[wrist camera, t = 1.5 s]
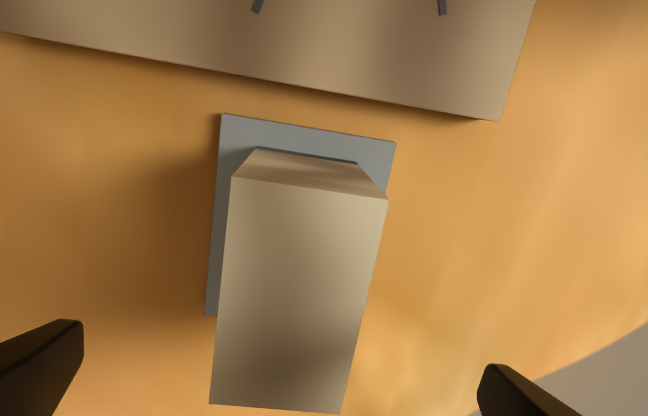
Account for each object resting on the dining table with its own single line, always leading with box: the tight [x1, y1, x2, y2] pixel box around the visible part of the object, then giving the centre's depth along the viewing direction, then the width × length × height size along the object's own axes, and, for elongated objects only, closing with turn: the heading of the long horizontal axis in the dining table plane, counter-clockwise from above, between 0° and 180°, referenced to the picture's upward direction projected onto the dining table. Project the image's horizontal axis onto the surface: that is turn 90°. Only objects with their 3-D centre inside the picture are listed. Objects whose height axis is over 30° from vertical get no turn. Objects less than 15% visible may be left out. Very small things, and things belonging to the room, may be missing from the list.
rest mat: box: [204, 113, 396, 316], centre depth 16 cm, size 7×9×1 cm
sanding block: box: [209, 146, 389, 414], centre depth 13 cm, size 4×7×6 cm, turn 170°
